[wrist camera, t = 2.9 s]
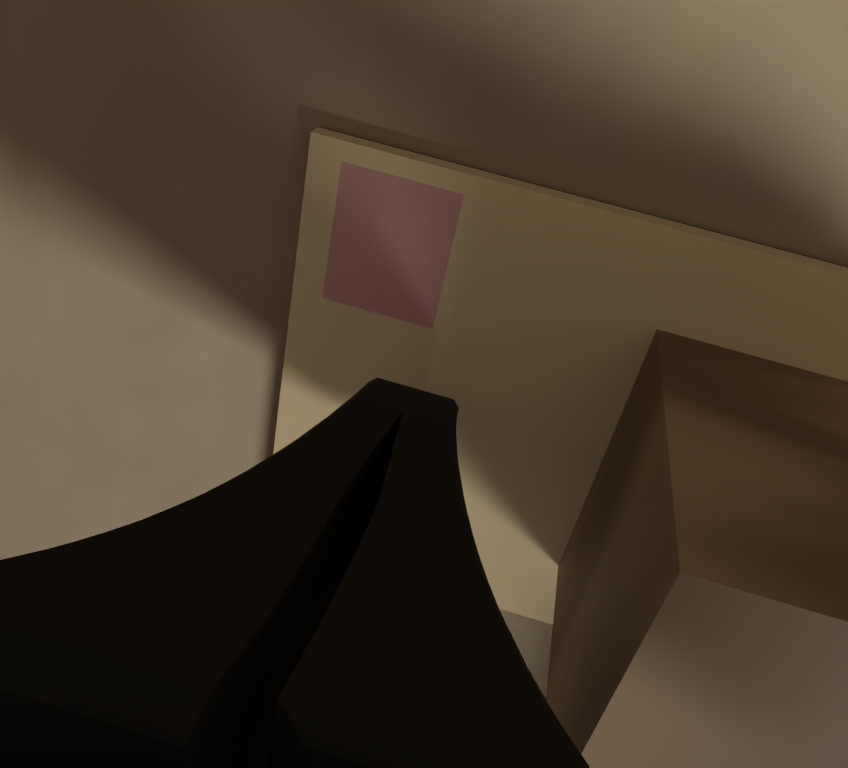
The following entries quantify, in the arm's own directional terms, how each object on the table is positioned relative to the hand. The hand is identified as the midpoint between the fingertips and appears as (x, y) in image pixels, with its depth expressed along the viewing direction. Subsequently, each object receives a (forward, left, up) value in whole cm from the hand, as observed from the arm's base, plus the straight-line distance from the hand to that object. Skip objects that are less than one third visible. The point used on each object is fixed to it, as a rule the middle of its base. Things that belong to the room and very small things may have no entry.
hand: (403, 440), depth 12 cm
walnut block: (+6, 0, -1) cm, 6 cm away
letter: (+4, 0, -1) cm, 4 cm away
